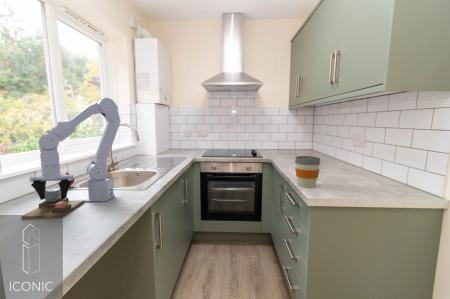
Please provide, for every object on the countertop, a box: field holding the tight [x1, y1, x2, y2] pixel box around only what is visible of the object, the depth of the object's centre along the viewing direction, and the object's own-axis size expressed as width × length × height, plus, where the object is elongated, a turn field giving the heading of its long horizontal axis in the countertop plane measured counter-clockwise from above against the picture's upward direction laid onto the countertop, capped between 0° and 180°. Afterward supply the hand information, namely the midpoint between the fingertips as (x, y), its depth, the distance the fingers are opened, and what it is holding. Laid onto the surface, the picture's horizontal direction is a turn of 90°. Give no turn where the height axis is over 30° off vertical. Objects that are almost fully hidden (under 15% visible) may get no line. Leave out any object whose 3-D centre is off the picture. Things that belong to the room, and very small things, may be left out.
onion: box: [63, 171, 75, 188], centre depth 117 cm, size 6×6×8 cm
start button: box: [55, 201, 67, 208], centre depth 84 cm, size 3×3×2 cm
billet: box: [44, 187, 63, 203], centre depth 90 cm, size 4×4×6 cm
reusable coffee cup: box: [294, 155, 321, 189], centre depth 120 cm, size 12×12×15 cm
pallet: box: [20, 197, 86, 220], centre depth 87 cm, size 14×15×3 cm
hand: (53, 198), depth 90 cm, fingers open, 7 cm apart
